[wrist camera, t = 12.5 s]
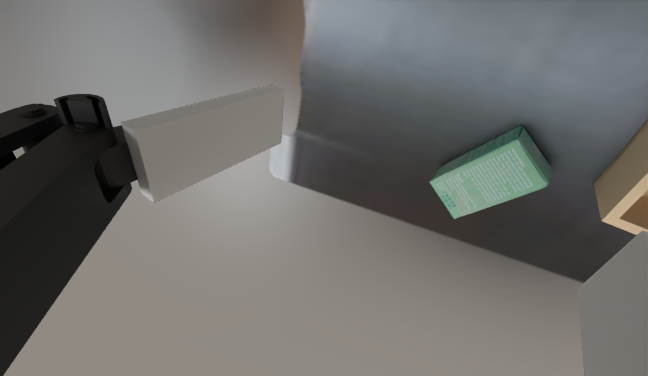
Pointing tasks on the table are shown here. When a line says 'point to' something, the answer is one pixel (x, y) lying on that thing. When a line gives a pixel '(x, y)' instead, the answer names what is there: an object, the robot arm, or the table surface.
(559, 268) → the table surface
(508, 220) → the table surface
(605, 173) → the carton
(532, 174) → the box
